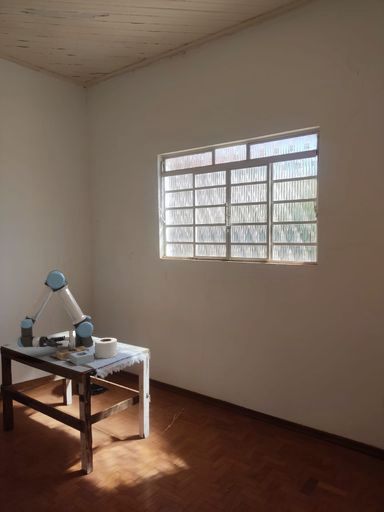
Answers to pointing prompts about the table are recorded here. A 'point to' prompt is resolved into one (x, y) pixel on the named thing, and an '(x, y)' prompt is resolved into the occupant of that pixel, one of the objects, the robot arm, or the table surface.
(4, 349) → the table surface
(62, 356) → the walnut beam
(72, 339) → the steel axle
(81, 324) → the robot arm
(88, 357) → the seat block
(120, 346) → the table surface
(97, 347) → the toilet paper roll
